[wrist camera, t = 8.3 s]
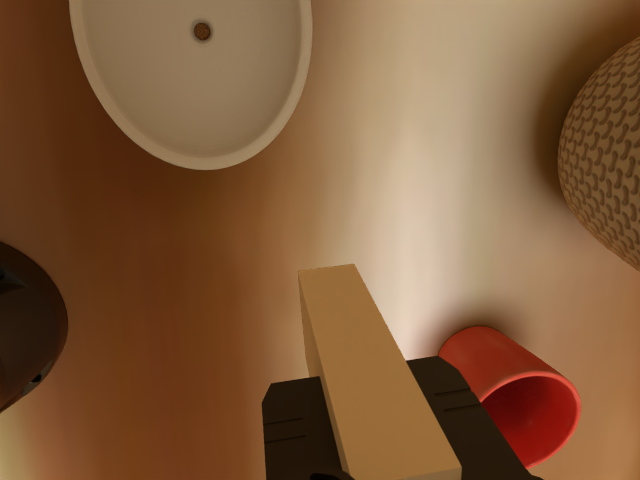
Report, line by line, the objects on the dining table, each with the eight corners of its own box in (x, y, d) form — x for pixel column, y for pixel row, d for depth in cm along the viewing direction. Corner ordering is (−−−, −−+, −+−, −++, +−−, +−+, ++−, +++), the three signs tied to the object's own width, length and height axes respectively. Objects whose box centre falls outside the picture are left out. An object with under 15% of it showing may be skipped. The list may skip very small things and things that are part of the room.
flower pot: (400, 380, 48) (436, 455, 39) (463, 294, 45) (517, 355, 36) (477, 412, 51) (526, 489, 42) (540, 334, 49) (607, 399, 40)
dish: (71, -128, 29) (39, -161, 24) (303, -112, 31) (314, -140, 27) (113, 156, 36) (95, 172, 31) (303, 153, 38) (311, 168, 33)
